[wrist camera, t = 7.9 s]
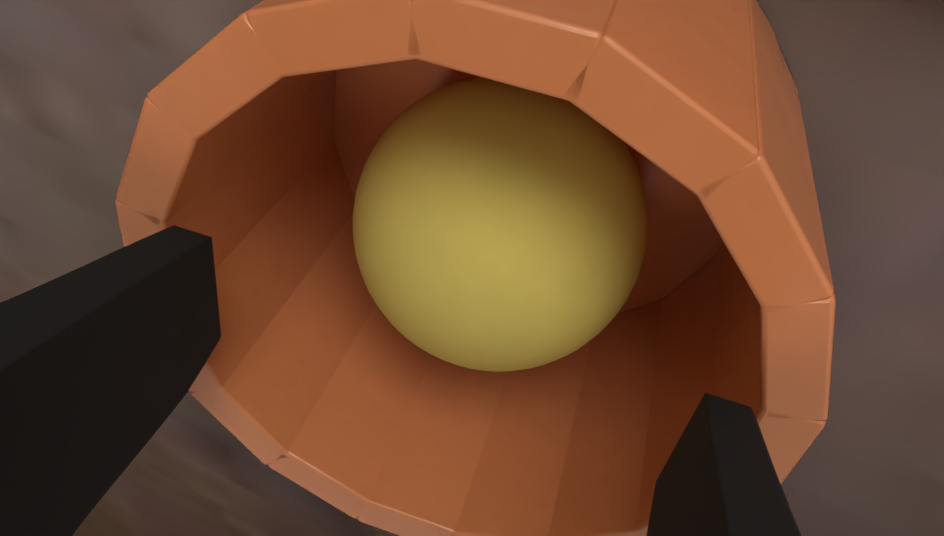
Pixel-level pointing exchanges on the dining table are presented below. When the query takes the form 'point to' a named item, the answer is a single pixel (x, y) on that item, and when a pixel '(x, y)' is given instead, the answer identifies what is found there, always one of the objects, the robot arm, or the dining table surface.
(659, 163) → the orange pot
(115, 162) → the dining table surface
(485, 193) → the ball
